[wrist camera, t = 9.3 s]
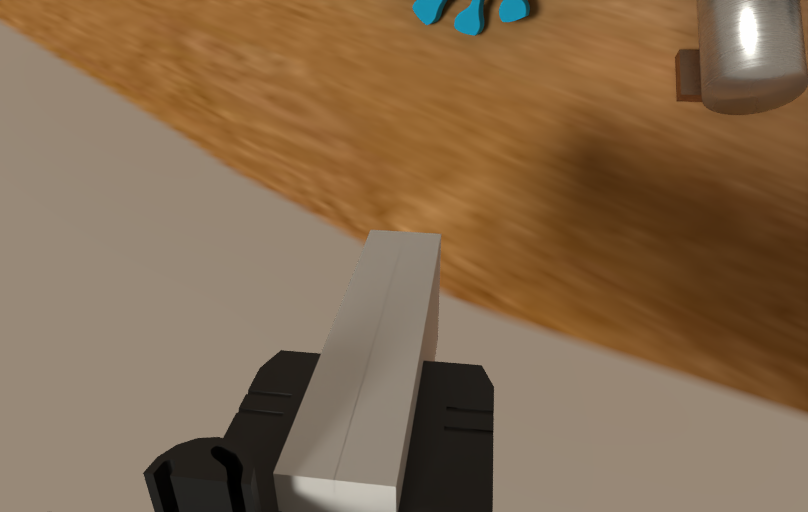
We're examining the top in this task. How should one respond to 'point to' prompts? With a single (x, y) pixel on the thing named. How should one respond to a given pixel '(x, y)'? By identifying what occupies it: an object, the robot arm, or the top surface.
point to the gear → (470, 13)
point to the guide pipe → (744, 56)
